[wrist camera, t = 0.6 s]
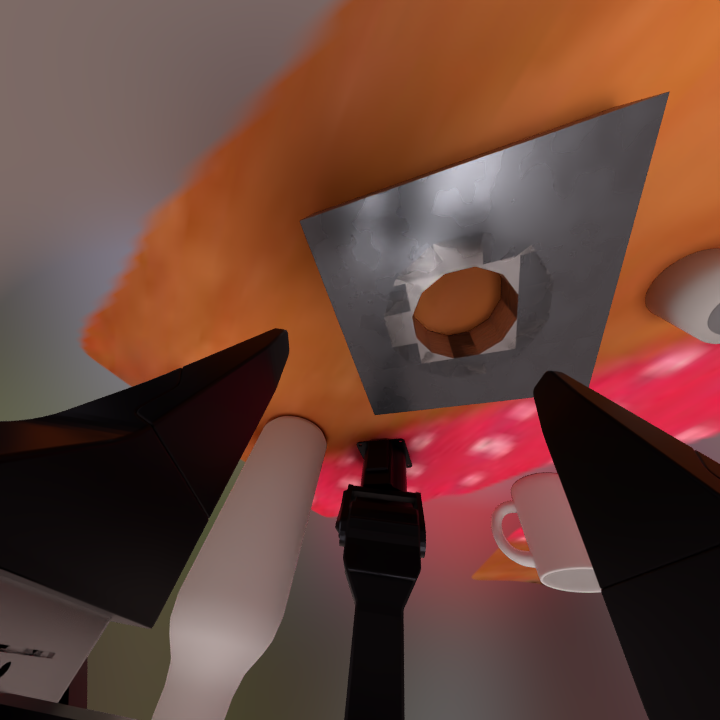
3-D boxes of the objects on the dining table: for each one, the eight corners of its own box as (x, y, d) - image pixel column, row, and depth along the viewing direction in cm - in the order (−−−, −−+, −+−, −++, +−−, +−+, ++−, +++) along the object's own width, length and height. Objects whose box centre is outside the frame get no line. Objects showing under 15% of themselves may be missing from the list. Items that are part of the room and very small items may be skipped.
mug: (486, 505, 40) (508, 590, 32) (476, 477, 36) (499, 568, 28) (576, 498, 36) (628, 594, 28) (577, 466, 32) (637, 568, 24)
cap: (718, 308, 19) (783, 336, 16) (636, 321, 21) (680, 350, 17) (754, 238, 17) (842, 256, 13) (657, 259, 18) (715, 280, 15)
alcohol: (338, 429, 33) (189, 1077, 10) (315, 460, 39) (182, 932, 15) (273, 403, 32) (-94, 1100, 8) (259, 439, 37) (9, 929, 13)
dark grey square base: (565, 365, 24) (587, 391, 21) (377, 390, 28) (374, 415, 26) (614, 106, 14) (669, 91, 11) (314, 213, 19) (299, 221, 16)
